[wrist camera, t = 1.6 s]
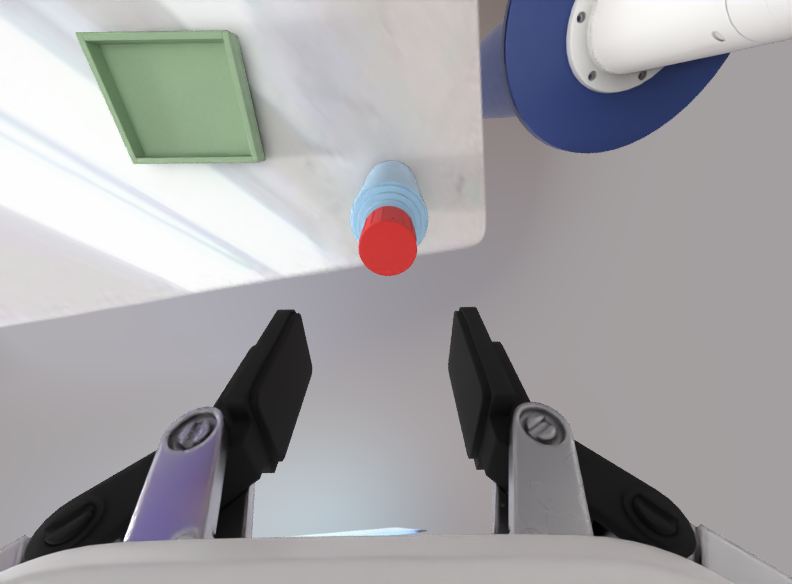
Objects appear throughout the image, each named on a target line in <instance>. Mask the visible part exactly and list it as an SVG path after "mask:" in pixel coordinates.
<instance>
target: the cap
mask: <svg viewBox="0 0 792 584" xmlns="http://www.w3.org/2000/svg"><path fill="white" fill-rule="evenodd" d="M416 241H417V238H416V233H415V228H414V226H413V223H412V220H411V217H409V215H408V214H407V213H406V212H405V211H404V210H402V209H400V208H397V207H394V206H382V207H380V208H377V209H376V210H373V212H372V213H371V214H370V215H369V216H368V218H366V221H365V224H364V227H363V229H362V233H361V236H360V239H359V254H360V258H361V260H362V262H363V263H364V264H365V266H366V267H367V268H368V269H370V270H371V271H373V272H374V273H377V274H380V275H385V276H392V275H397V274H400V273H402V272H404V271H405V270H407V269H408V268H409V267H410V266H411V265H412V263H413V262H414V260H415V257H416V254H417V243H416Z"/></svg>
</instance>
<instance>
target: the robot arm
mask: <svg viewBox="0 0 792 584" xmlns="http://www.w3.org/2000/svg"><path fill="white" fill-rule="evenodd" d="M577 17H578V18H579V21H578V22H577ZM789 39H792V0H575V2H574V5H573V7H572V10H571V14H570V18H569V22H568V28H567V36H566V47H567V56H568V61H569V65H570V67H571V69H572V72H573V74H574V76H575V77H576V78H577V79H578V81H579V82H580V83H581V84H582V85H584V86H585V87H586V88H588V89H590V90H592V91H595V92H599V93H615V92H621V91H625V90H629V89H631V88H634V87H636V86H638V85H640V84H642V83H644V82H645V81H647V80H648V79H650V78H651V77H653V76H654V75H655V74H656V73H658V72H659V71H660V70H661V69H662V68H663V67H664V66H667V65H672V64H677V63H681V62H686V61H691V60H696V59H700V58H705V57H710V56H714V55H719V54H724V53H729V52H733V51H738V50H742V49H747V48H752V47H757V46H762V45H766V44H770V43H775V42H780V41H784V40H789ZM589 75H590V77H589V79H588V76H589ZM638 76H639V77H638ZM448 370H449V375H450V380H451V384H452V389H453V393H454V398H455V402H456V407H457V411H458V416H459V420H460V424H461V429H462V433H463V438H464V442H465V447H466V451H467V455H468V458H469V459H470V458H471V459H474V461H475V466H476V469H477V470H481V469H483V470H485V473H486V475H487V476H488V477H489V478H490V479H491V480H493V481H494V482H493V504H492V525H491V527H492V528H491V534H482V535H481V534H477V535H391V536H328V537H274V538H252V526H253V508H254V491H255V482H256V481H257V480H259V479H260V477H261V474H262V473H274V472H275V470H276V467H277V464H278V462H279V461H283V459H284V458H285V455H286V452H287V449H288V446H289V443H290V439H291V436H292V433H293V430H294V427H295V424H296V421H297V418H298V415H299V412H300V409H301V406H302V402H303V400H304V396H305V393H306V390H307V387H308V384H309V381H310V378H311V375H312V363H311V359H310V355H309V350H308V345H307V341H306V336H305V332H304V327H303V322H302V318H301V315H300V314H299V313H296V312H295V310H278V311H277V312H276V313H275V315H274V316H273V318H272V320H271V321H270V323H269V324H268V326H267V328H266V329H265V331H264V332H263V334H262V336H261V337H260V339H259V340H258V342H257V344H256V345H254V346H253V347H251V349H250V350H249V351H248V353H247V355H246V357H245V358H244V359H243V361H242V362H241V364H240V366H239V367H238V369H237V370H236V372H235V373H234V375H233V377H232V378H231V380H230V381H229V383H228V384H227V386H226V388H225V389H224V391H223V392H222V394H221V396H220V397H219V399H218V400H217V402H216V403H215V405H214V406H213V407H203V408H198V409H195V410H193V411H190V412H188V413H186V414H184V415H183V416H181V417H179V418H178V419H177V420H176V421H174V422H173V423H172V424H171V425H170V426H169V427H168V429H167V430H166V431H165V433H164V434H163V436H162V438H161V440H160V443H159V445H158V448H157V450H156V451H154V452H153V453H151V454H149V455H148V456H146V457H144V458H142V459H141V460H139V461H137V462H136V463H134V464H132V465H130V466H129V467H127V468H125V469H124V470H122V471H120V472H118V473H117V474H115V475H113V476H112V477H110V478H108V479H107V480H105V481H103V482H101V483H100V484H98V485H96V486H95V487H93V488H91V489H89V490H88V491H86V492H84V493H83V494H81V495H79V496H77V497H76V498H74V499H72V500H71V501H69V502H68V503H66V504H65V505H63V506H62V507H60V508H59V509H58V510H57V511H55V512H54V513H53V514H52V515H51V516H50V517H49V518H47V519H46V520H45V521H44V523H43V524H42V525H41V526H40V527H39V528H38V530H37V531H36V532H35V533H34V535H33V536H32V537H31V538H29V537H28V536H26V535H24V536H22V537H20V538H18V539H17V540H15V541H13V542H11V543H10V544H8V545H6V546H4V547H3V548H1V549H0V584H792V577H791V576H789V575H787V574H786V573H784V572H782V571H780V570H779V569H777V568H775V567H774V566H772V565H770V564H768V563H767V562H765V561H763V560H762V559H760V558H758V557H757V556H755V555H753V554H751V553H750V552H748V551H746V550H745V549H743V548H741V547H739V546H738V545H736V544H734V543H733V542H731V541H729V540H727V539H726V538H724V537H722V536H721V535H719V534H717V533H716V532H714V531H712V530H710V529H709V528H707V527H705V526H704V525H702V524H700V525H699V526H698V527H696V526H694V525H692V524H691V523H689V521H688V520H687V518H686V517H685V516H684V514H683V513H682V512H681V510H680V509H679V508H678V507H677V506H676V505H675V504H674V503H673V502H672V501H671V500H670V499H669V498H667V497H666V496H664V495H663V494H661V493H660V492H659V491H657V490H656V489H654V488H652V487H651V486H649V485H648V484H646V483H644V482H643V481H641V480H639V479H638V478H636V477H634V476H633V475H631V474H630V473H628V472H626V471H624V470H623V469H621V468H619V467H618V466H616V465H615V464H613V463H611V462H610V461H608V460H606V459H605V458H603V457H601V456H600V455H598V454H596V453H595V452H593V451H592V450H590V449H588V448H587V447H585V446H583V445H582V444H580V443H579V442H577V441H575V440H574V437H573V433H572V430H571V427H570V425H569V423H568V422H567V421H566V419H565V418H564V417H563V416H562V415H561V414H560V413H558V412H557V411H556V410H554V409H553V408H551V407H549V406H547V405H544V404H541V403H537V402H530V400H529V398H528V396H527V394H526V392H525V390H524V388H523V386H522V384H521V382H520V380H519V378H518V376H517V374H516V372H515V370H514V368H513V366H512V364H511V362H510V360H509V358H508V356H507V354H506V352H505V350H504V348H503V346H502V344H501V343H500V342H492V341H491V339H490V337H489V334H488V332H487V330H486V328H485V326H484V324H483V321H482V319H481V317H480V315H479V313H478V310H477V308H476V307H460V309H459V311H455V312H454V318H453V327H452V336H451V345H450V354H449V363H448Z"/></svg>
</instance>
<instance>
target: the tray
mask: <svg viewBox="0 0 792 584" xmlns="http://www.w3.org/2000/svg"><path fill="white" fill-rule="evenodd" d="M75 34H76V36H77V38H78V40H79V43H80V45H81V47H82V49H83V52H84V54H85V56H86V58H87V61H88V63H89V65H90V67H91V70H92V72H93V74H94V77H95V79H96V81H97V83H98V86H99V88H100V90H101V92H102V95H103V97H104V99H105V101H106V104H107V106H108V108H109V110H110V113H111V115H112V117H113V119H114V122H115V124H116V126H117V128H118V131H119V133H120V135H121V137H122V140H123V142H124V144H125V146H126V149H127V151H128V153H129V155H130V158H131V160H132V162H133V164H155V163H234V162H261V161H264V160H265V157H264V153H263V148H262V144H261V139H260V135H259V130H258V126H257V122H256V117H255V113H254V108H253V104H252V99H251V95H250V90H249V86H248V82H247V77H246V73H245V68H244V64H243V59H242V55H241V50H240V46H239V42H238V37H237V36H236V35H234V34H233V33H231V32H229V31H227V30H222V31H149V32H82V33H81V32H76V33H75Z"/></svg>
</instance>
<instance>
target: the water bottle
mask: <svg viewBox="0 0 792 584" xmlns="http://www.w3.org/2000/svg"><path fill="white" fill-rule="evenodd" d="M382 206H394V207H397V208H400V209H402V210H404V211H405V212H406V213H407V214H408V215H409V217H411V220H412V223H413V226H414V228H415V233H416V238H417V241H416V243H417V246H418V245H419V244H420V242H421V241H422V240H423V238H424V236H425V233H426V231H427V227H428V213H427V209H426V206H425V203H424V200H423V198H422V195H421V192H420V190H419V187H418V184H417V182H416V179H415V176H414V174H413V173H412V171H411V170H410V169H409V168H408V167H407V166H406V165H404V164H403V163H400V162H398V161H385V162H382V163H380V164H378V165H376V166H375V167H374V168H373V169H372V170H371V172H370V173H369V175H368V177H367V179H366V181H365V183H364V185H363V187H362V188H361V190H360V192H359V194H358V196H357V198H356V200H355V202H354V205H353V207H352V211H351V227H352V231H353V233H354V236H355V238H356V239H357V241H358V242H359V239H360V236H361V233H362V229H363V227H364V224H365V221H366V218H368V216H369V215H370V214H371V213H372V212H373V210H376V209H377V208H380V207H382Z"/></svg>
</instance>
